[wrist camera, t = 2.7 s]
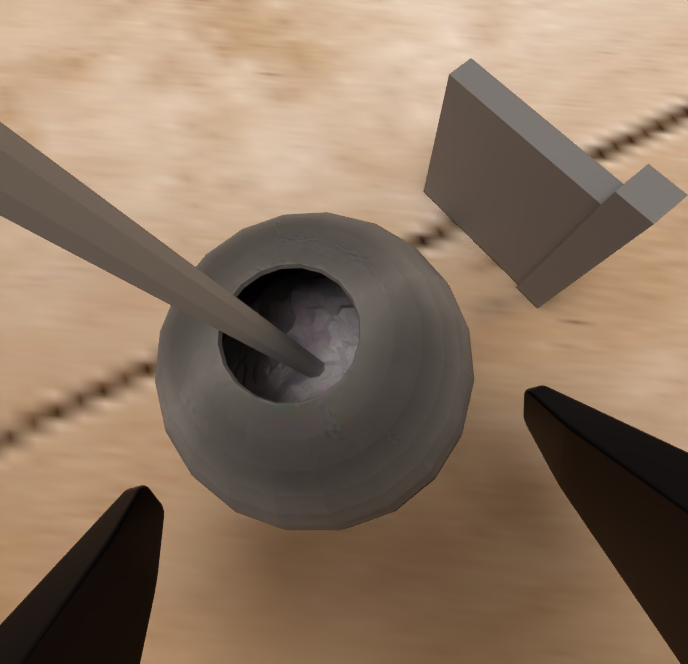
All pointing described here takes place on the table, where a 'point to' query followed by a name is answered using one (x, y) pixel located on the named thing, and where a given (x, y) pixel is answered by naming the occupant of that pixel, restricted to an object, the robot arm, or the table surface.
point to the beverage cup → (281, 350)
